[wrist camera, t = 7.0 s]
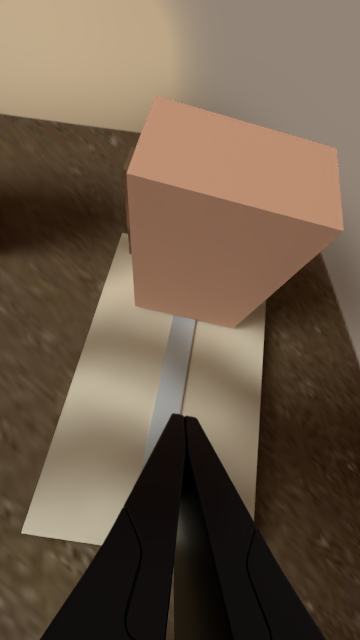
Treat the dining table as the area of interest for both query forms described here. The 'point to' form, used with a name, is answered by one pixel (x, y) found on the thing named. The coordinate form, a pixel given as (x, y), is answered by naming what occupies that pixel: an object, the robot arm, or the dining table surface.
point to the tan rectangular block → (224, 211)
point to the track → (145, 404)
